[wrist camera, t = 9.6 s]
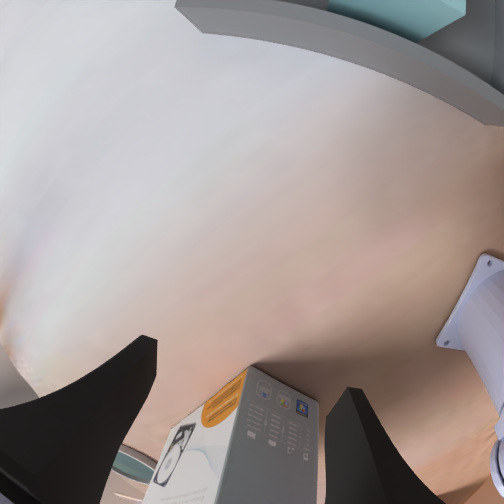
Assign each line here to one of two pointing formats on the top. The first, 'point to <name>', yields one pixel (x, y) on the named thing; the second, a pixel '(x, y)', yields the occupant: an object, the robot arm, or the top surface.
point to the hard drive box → (242, 448)
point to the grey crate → (380, 45)
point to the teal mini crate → (402, 15)
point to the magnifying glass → (133, 465)
